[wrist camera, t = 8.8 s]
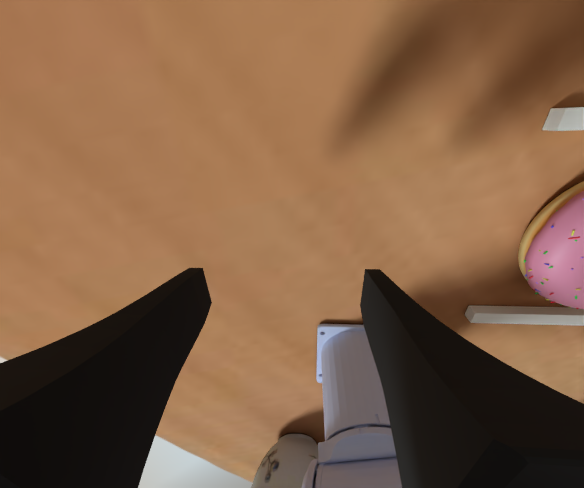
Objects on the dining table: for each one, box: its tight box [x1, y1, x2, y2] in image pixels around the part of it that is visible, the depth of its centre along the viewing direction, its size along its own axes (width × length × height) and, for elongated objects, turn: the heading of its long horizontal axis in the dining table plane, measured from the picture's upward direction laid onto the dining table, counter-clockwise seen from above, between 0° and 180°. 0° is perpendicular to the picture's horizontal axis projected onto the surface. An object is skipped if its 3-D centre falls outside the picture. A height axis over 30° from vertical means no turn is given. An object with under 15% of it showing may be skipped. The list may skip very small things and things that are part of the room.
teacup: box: [251, 434, 318, 488], centre depth 34 cm, size 15×12×8 cm
